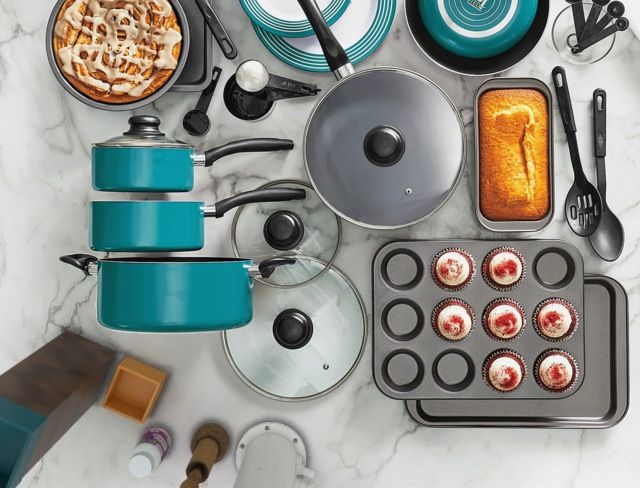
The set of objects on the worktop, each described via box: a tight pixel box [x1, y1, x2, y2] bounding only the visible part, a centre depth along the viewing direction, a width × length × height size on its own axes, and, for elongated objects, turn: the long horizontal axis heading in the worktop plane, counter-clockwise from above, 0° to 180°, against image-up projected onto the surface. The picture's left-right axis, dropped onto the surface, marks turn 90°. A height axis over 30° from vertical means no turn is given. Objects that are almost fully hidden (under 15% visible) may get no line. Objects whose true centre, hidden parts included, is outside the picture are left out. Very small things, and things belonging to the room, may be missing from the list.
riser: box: [0, 329, 118, 478], centre depth 108 cm, size 10×10×28 cm
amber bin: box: [100, 356, 169, 425], centre depth 120 cm, size 8×8×4 cm
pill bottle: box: [127, 427, 172, 480], centre depth 118 cm, size 5×5×10 cm
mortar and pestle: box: [179, 422, 230, 488], centre depth 113 cm, size 7×6×18 cm
